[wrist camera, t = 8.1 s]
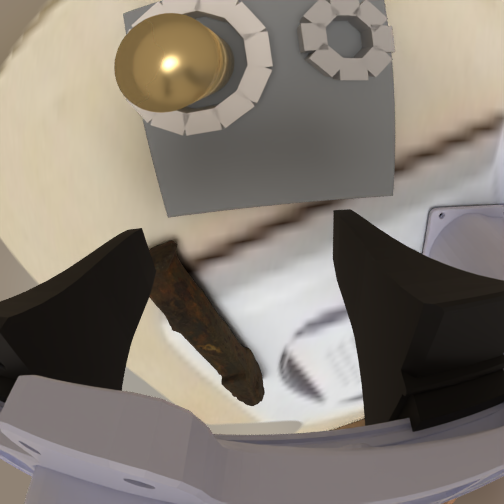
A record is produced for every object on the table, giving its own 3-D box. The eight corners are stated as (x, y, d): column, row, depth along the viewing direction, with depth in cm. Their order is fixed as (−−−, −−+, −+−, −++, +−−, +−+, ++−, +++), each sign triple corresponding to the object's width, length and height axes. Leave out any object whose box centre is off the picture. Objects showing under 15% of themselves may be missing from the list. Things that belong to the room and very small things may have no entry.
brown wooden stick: (136, 249, 23) (114, 287, 20) (177, 232, 22) (159, 270, 18) (238, 380, 33) (235, 415, 29) (272, 373, 32) (271, 410, 28)
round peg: (226, 24, 13) (204, -1, 8) (241, 88, 15) (228, 97, 10) (158, 43, 14) (105, 36, 8) (173, 104, 16) (129, 125, 11)
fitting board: (375, -14, 12) (393, -25, 9) (388, 189, 19) (404, 209, 17) (129, 15, 13) (108, 9, 11) (171, 211, 21) (159, 232, 19)
